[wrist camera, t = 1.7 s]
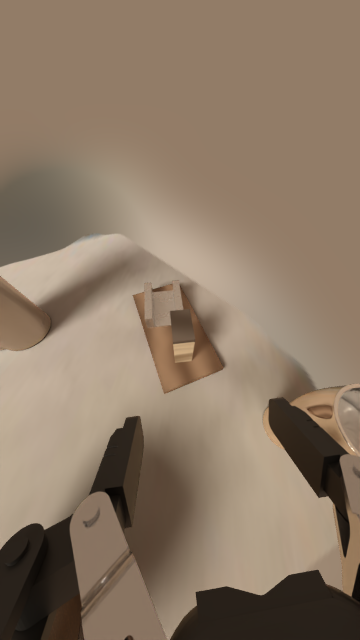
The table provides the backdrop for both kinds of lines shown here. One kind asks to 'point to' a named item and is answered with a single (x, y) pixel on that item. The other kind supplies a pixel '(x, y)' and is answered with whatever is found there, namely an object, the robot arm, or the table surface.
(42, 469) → the table surface
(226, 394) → the table surface
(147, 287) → the clip
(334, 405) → the beer glass
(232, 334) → the table surface
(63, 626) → the plant pot
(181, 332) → the grey-topped wooden block
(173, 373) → the board
